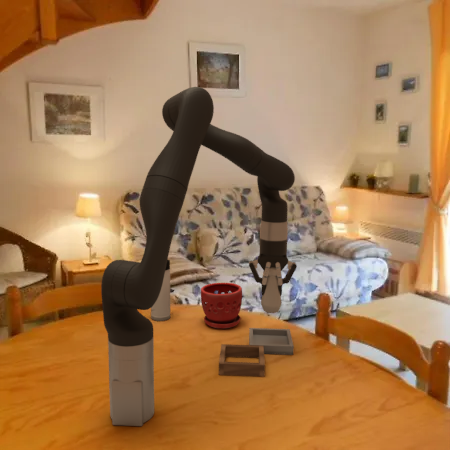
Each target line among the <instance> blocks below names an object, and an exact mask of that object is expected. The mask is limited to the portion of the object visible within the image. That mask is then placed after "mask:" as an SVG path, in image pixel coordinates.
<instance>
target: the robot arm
mask: <svg viewBox="0 0 450 450" xmlns="http://www.w3.org/2000/svg"><path fill="white" fill-rule="evenodd" d="M214 109H215V107H214V102H213V98H212V95H211V94H210V92H209V91H208V90H206V89H205V88H203V87H200V86H193V87H188V88H186V89H183V90H182V91H180V92H178V93H176V94H175V95H173V96H171V97H170V98H168V99H167V100H166V101H165V102H164V103H163V105H162V109H161V114H162V119H163V121H164V123H165V125H166V126H167V127H168V128H169V129H170V130H171V131H172V133H171V136H170V138H169V139H168V142H167V143H166V144H165V146H164V147H163V149H162V150H161V151H160V153H159V154H158V156H157V157H156V158H155V160H154V161H153V164H152V165H151V167H150V168H149V171H148V172H147V175H146V177H145V179H144V183H143V186H142V189H141V192H140V195H139V208H140V213H141V217H142V222H143V225H144V229H145V236H146V241H145V246H144V251H143V254H142V258H141V260H140V261H139V262H138V261H133V260H126V259H115V260H112V261H111V262H110V263H108V265H107V266H106V268H105V269H104V271H103V275H102V279H101V287H100V291H101V292H100V293H101V303H102V304H101V305H102V314H103V315H102V317H103V325H104V328H105V330H106V332H107V347H108V348H107V349H108V380H109V381H108V382H109V385H108V386H109V387H108V388H109V389H108V390H109V413H110V419H111V421H112V425H113V426H133V427H134V426H135V427H142V426H144V423H146V422H148V421H149V420H150V419H152V418H153V416H154V414H155V371H154V370H155V364H154V363H155V362H154V361H155V360H154V359H155V358H154V347H155V345H154V344H155V343H154V341H155V340H154V324H153V323H152V320H150V319H149V318H147V317H146V316H144V315H143V314H142V313H141V312H140V311H147V310H151V307H152V306H153V305H154V304H155V302H156V301H157V299H158V297H159V294H160V291H161V287H162V284H163V279H164V274H165V269H166V264H167V260H169V254H170V249H171V244H172V240H173V238H174V237H173V236H174V234H175V230H176V226H177V223H178V220H179V217H180V214H181V210H182V208H183V206H184V202H185V198H186V196H187V192H188V188H189V186H190V185H189V184H190V180H191V176H192V174H193V172H194V168H195V165H196V162H197V158H198V154H199V153H200V149H201V146H203V147H205V148H206V149H209V150H211V151H213V152H214V153H216V154H218V155H219V156H222V157H224V158H225V159H227V160H229V161H230V162H231V163H233V164H234V165H235V166H237V167H239V169H241V170H242V171H244V172H245V173H247V174H249V175H250V176H254V177H257V178H256V180H257V181H256V182H257V183H256V184H257V189H258V195H259V199H260V203H261V221H260V227H259V231H260V232H259V254H258V256H257V259H255V260H253V261H252V260H249V262H248V267H249V268H250V271H251V274H252V276H253V278H254V280H255V282H256V283H259V284H261V296H262V295H264V293H265V290H266V287H267V285H266V282H267V278H268V271H269V269H270V268H272V267H273V268H276V270H277V279H278V284H279V285H278V290H279V291H280V296H281V297H282V295H283V294H282V293H283V285H285V284H286V285H288V284H289V283H290V281H291V279H292V277H293V276H294V273H295V271H296V269H297V266H298V265H297V263H296V262H295V261H290V260H289V258H288V252H287V251H288V231H289V230H288V228H289V227H288V212H289V211H288V208H289V207H288V202H287V201H286V200H284V199H283V198H282V197H281V195H280V192H285V191H288V190H290V189H291V188H292V187H293V186H294V183H295V180H296V176H295V173H294V170H293V169H292V168H291V166H289V165H288V164H287V163H286V162H284V161H282V160H280V159H278V158H277V157H276V156H275V157H274V156H272V155H271V154H268V153H267V152H265V151H264V150H263V149H261V147H259V146H257V145H256V144H255V143H254V142H252V141H251V140H250V139H248V138H246V137H244V136H242V135H239V134H237V133H234V132H230V131H229V130H225V129H222V128H220V127H218V126H215V125H213V124H212V120H213V117H214V113H215V112H214ZM258 264H259V266H260V267H261V269H262V270H263V272H262V277H260V275H259V272H258V271H257V268H258ZM286 265H287V269H288V270H287V271H286V274H285V276H284V277H283V278H282V271H283V270H284V268H285V267H286ZM278 270H279V271H278ZM139 310H140V311H139Z"/></svg>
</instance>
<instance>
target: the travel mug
mask: <svg viewBox="0 0 450 450" xmlns="http://www.w3.org/2000/svg"><path fill="white" fill-rule="evenodd" d="M170 265H171V260H170V259H168V260H167V264H166V269H165V274H164V279H163V284H162V287H161V291H160V294H159V297H158V299H157V301H156V302H155V304H154V305H153V306H152V307H151V308H150V318H151V319H152V320H154V321H157V322H163V321H168V320H169V319H170V318H171V266H170Z"/></svg>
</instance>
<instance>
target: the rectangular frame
mask: <svg viewBox="0 0 450 450" xmlns="http://www.w3.org/2000/svg"><path fill="white" fill-rule="evenodd" d="M227 357H228V358H229V357H230V358H252V359H253V358H256V359H258V362H249V361H248V362H247V361H245V362H244V361H226V358H227ZM265 363H266V361H265V354H264V347H263V346H259V345H249V344H228V343H226V344H225V343H221V344H220V353H219V361H218V376H238V377H240V376H243V377H265V375H266V374H265V373H266V371H265V370H266V364H265Z"/></svg>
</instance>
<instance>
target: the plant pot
mask: <svg viewBox="0 0 450 450" xmlns="http://www.w3.org/2000/svg"><path fill="white" fill-rule="evenodd" d="M215 292H217V293H215ZM229 292H230V293H229ZM200 300H201V301H200V302H201V308H202V311H203V313H204V315H205V316H204V317H203V318H204V319H203V320H204V322H205V324H206V325H208V326H209V327H212V328H214V329H229V328H233V327H236V326H238V325H239V323H241V319H242V318H241V316H240V315H239V314H240V312H241V309H242V301H243V287H241V285H239V284H236V283H232V282H213V283H208V284H206V285H204V286H202V287H201V288H200Z"/></svg>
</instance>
